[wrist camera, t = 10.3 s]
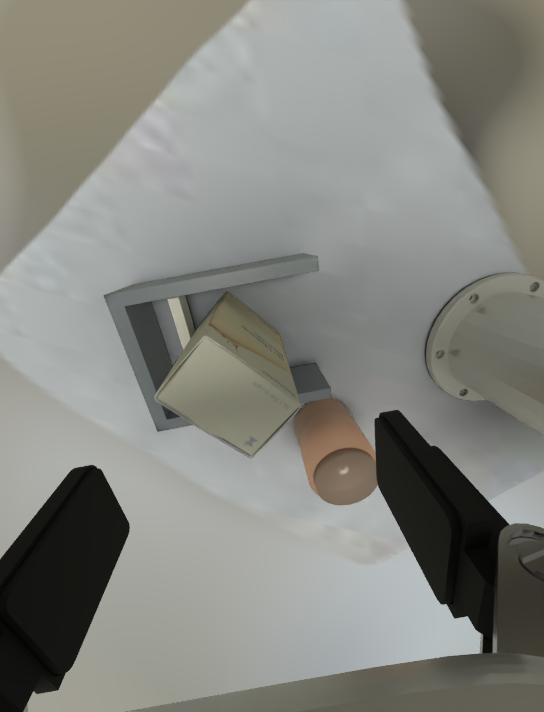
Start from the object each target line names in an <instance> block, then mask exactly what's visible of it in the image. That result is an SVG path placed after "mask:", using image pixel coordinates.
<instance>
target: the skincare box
mask: <svg viewBox="0 0 544 712" xmlns="http://www.w3.org/2000/svg"><path fill="white" fill-rule="evenodd" d="M154 399H155V401H156V402H158V403H160V404H161V405H163V406H164V407H166V408H168V409H169V410H171V411H172V412H174V413H175V414H177V415H179V416H180V417H182V418H184V419H185V420H187V421H189V422H190V423H192V424H193V425H195V426H196V427H198V428H199V429H201V430H203V431H204V432H206V433H208V434H209V435H211V436H213V437H215V438H217V439H218V440H220V441H222V442H223V443H225V444H227V445H228V446H230V447H232V448H233V449H235V450H237V451H238V452H240V453H242V454H244V455H245V456H247V457H249V458H253V457H254V456H255V455H256V454H257V453H258V452H259V451H260V450H261V449H262V448H263V447H264V446H265V445H266V444H267V443H268V442H269V441H270V440H271V439H272V438H273V437H274V436H275V435H276V434H277V433H278V432H279V431H280V430H281V429H282V428H283V427H284V426H285V425H286V424H287V423H288V422H289V421H290V419H291V418H292V417H293V416H294V415H295V414H296V413H297V412H298V411H299V410H300V409H301V403H300V400H299V397H298V394H297V390H296V387H295V384H294V380H293V377H292V374H291V370H290V367H289V364H288V360H287V357H286V354H285V351H284V347H283V344H282V340H281V337H280V334H279V333H278V332H276V331H275V330H274V329H273V328H272V327H270V326H269V325H268V324H267V323H266V322H265V321H263V320H262V319H261V318H260V317H259V316H257V315H256V314H255V313H254V312H253V311H251V310H250V309H249V308H248V307H246V306H245V305H244V304H243V303H241V302H240V301H239V300H238V299H236V298H235V297H234V296H233V295H231V294H230V293H229V292H226V293H225V294H224V295H223V296H222V297H221V299H220V300H219V301H218V302H217V303H216V305H215V306H214V307H213V308H212V310H211V311H210V312H209V313H208V315H207V316H206V317H205V318H204V320H203V321H202V322H201V324H200V325H199V326H198V328H197V329H196V331H195V332H194V334H193V336H192V337H191V339H190V341H189V342H188V344H187V345H186V347H185V348H184V350H183V352H182V353H181V355H180V356H179V358H178V359H177V361H176V363H175V364H174V366H173V367H172V369H171V370H170V372H169V374H168V375H167V377H166V378H165V380H164V381H163V383H162V384H161V386H160V388H159V389H158V391H157V392H156V394H155V396H154Z"/></svg>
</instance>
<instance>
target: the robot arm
mask: <svg viewBox="0 0 544 712" xmlns="http://www.w3.org/2000/svg"><path fill="white" fill-rule="evenodd" d="M426 360H427V367H428V370H429V373H430V376H431V377H432V379H433V380H434V382H435V383H436V384H437V385H438V386H439V387H440V388H441V389H442V390H444V391H445V392H447V393H448V394H450V395H451V396H453V397H456V398H458V399H461V400H468V401H483V400H489V401H490V402H492V403H493V404H495V405H496V406H498V407H499V408H501V409H503V410H504V411H506V412H507V413H509V414H510V415H512V416H513V417H515V418H517V419H518V420H520V421H521V422H523V423H524V424H526V425H527V426H529V427H531V428H532V429H534V430H535V431H537V432H538V433H540V434H541V435H543V436H544V281H543V280H542V279H539V278H537V277H534V276H532V275H526V274H519V273H502V274H497V275H492V276H489V277H486V278H484V279H481V280H479V281H477V282H475V283H473V284H472V285H470V286H468V287H467V288H465V289H464V290H463V291H461V292H460V293H459V294H458V295H456V296H455V297H454V298H453V299H452V300H451V301H450V302H449V303H448V305H447V306H446V307H445V308H444V309H443V311H442V312H441V314H440V315H439V317H438V318H437V319H436V321H435V324H434V326H433V328H432V330H431V332H430V335H429V339H428V342H427V350H426ZM375 448H376V477H377V483H378V486H379V489H380V491H381V493H382V495H383V496H384V498H385V500H386V502H387V504H388V506H389V508H390V510H391V512H392V514H393V516H394V518H395V519H396V521H397V523H398V525H399V527H400V529H401V531H402V533H403V535H404V537H405V539H406V541H407V543H408V544H409V546H410V548H411V550H412V552H413V553H414V556H415V558H416V560H417V562H418V564H419V565H420V567H421V569H422V571H423V573H424V575H425V577H426V579H427V581H428V583H429V585H430V586H431V589H432V590H433V592H434V594H435V596H436V598H437V600H438V601H439V602H440V603H441V604H447V606H448V607H449V609H450V611H451V613H452V615H453V617H454V618H460V617H465V616H468V617H469V619H470V621H471V622H472V624H473V626H474V628H475V629H476V630H477V631H478V632H480V633H481V642H480V654H470V655H459V656H447V657H440V658H434V659H427V660H420V661H414V662H407V663H400V664H395V665H387V666H380V667H374V668H368V669H363V670H357V671H352V672H345V673H340V674H334V675H329V676H322V677H317V678H311V679H305V680H299V681H294V682H288V683H282V684H277V685H271V686H265V687H259V688H255V689H249V690H243V691H237V692H232V693H226V694H221V695H215V696H209V697H205V698H198V699H193V700H187V701H182V702H176V703H171V704H165V705H160V706H155V707H149V708H143V709H138V710H132V711H127V712H544V529H543V528H541V527H538V526H534V525H529V524H512V525H509V524H508V523H507V521H506V520H505V519H504V518H503V517H502V516H501V515H500V514H499V513H498V512H497V511H496V509H495V508H494V507H492V505H491V504H490V503H489V502H488V501H487V500H486V499H485V497H484V496H483V495H482V494H481V493H480V492H479V491H478V490H477V489H476V488H475V487H474V485H473V484H472V483H471V482H470V481H469V480H468V479H467V478H466V477H465V476H464V475H463V474H462V472H461V471H460V470H459V469H458V468H457V467H456V466H455V465H454V464H453V463H452V462H451V460H450V459H449V458H448V457H447V456H446V455H445V454H444V453H443V452H442V451H441V450H440V449H439V448H438V447H436V446H430V445H429V444H428V443H427V442H426V441H425V439H424V438H423V437H422V436H421V435H420V434H419V433H418V431H417V430H416V429H415V428H414V427H413V426H412V425H411V424H410V422H409V421H408V420H407V419H406V418H405V417H404V416H403V414H402V413H401V412H400V411H399V410H394V411H388V412H383V413H380V415H379V418H376V419H375ZM129 528H130V527H129V522H128V520H127V518H126V516H125V514H124V513H123V511H122V509H121V507H120V505H119V503H118V501H117V499H116V497H115V495H114V493H113V491H112V489H111V487H110V485H109V484H108V482H107V480H106V478H105V476H104V474H103V472H102V470H101V469H97V467H96V466H94V465H89V466H84V467H78V468H74V469H73V470H71V471H70V472H69V474H68V475H67V476H66V477H65V479H64V480H63V481H62V483H61V484H60V485H59V486H58V487H57V489H56V490H55V491H54V492H53V494H52V495H51V496H50V497H49V499H48V500H47V501H46V503H45V504H44V505H43V506H42V508H41V509H40V510H39V511H38V513H37V514H36V515H35V516H34V518H33V519H32V520H31V521H30V523H29V524H28V525H27V526H26V528H25V529H24V530H23V531H22V533H21V534H20V535H19V537H18V538H17V539H16V540H15V541H14V543H13V544H12V545H11V546H10V548H9V549H8V550H7V551H6V553H5V554H4V555H3V557H2V558H1V559H0V712H28V708H27V703H28V701H29V698H30V696H31V694H32V692H33V691H34V692H35V693H37V694H39V693H45V692H51V691H56V690H59V687H60V685H61V683H62V680H63V678H64V676H65V673H66V672H68V671H69V670H70V669H71V667H72V666H73V664H74V662H75V660H76V657H77V655H78V653H79V650H80V648H81V645H82V643H83V641H84V639H85V636H86V634H87V631H88V629H89V627H90V624H91V622H92V619H93V617H94V615H95V613H96V610H97V608H98V605H99V603H100V601H101V598H102V596H103V594H104V591H105V589H106V586H107V584H108V582H109V579H110V577H111V575H112V572H113V570H114V568H115V565H116V563H117V561H118V558H119V556H120V553H121V551H122V549H123V546H124V544H125V541H126V539H127V537H128V534H129Z"/></svg>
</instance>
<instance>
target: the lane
mask: <svg viewBox="0 0 544 712" xmlns="http://www.w3.org/2000/svg"><path fill="white" fill-rule="evenodd" d="M313 271H319V264H318V256H313V255H308V254H298V255H292V256H287V257H281V258H276V259H270V260H265V261H259V262H254V263H248V264H243V265H238V266H232V267H227V268H221V269H216V270H210V271H205V272H199V273H194V274H188V275H183V276H177V277H172V278H166V279H161V280H155V281H150V282H144V283H139V284H133V285H130V286H127V287H125V288H122V289H119V290H117V291H114V292H111V293H109V294H106V295H104V298H105V300H106V303H107V305H108V308H109V310H110V313H111V315H112V318H113V320H114V323H115V325H116V328H117V331H118V333H119V336H120V338H121V341H122V343H123V346H124V348H125V351H126V353H127V356H128V358H129V361H130V363H131V366H132V368H133V371H134V373H135V376H136V378H137V381H138V383H139V386H140V389H141V391H142V394H143V396H144V399H145V401H146V404H147V406H148V409H149V411H150V414H151V416H152V419H153V421H154V424H155V426H156V429H157V431H158V432H159V431H164V430H169V429H174V428H179V427H184V426H189V425H193V424H192V423H190V422H189V421H187V420H185V419H184V418H182V417H180V416H179V415H177V414H175V413H174V412H172V411H171V410H169V409H168V408H166V407H164V406H163V405H161V404H160V403H158V402H156V401H155V399H154V396H155V394H156V392H157V391H158V389H159V388H160V386H161V384H162V383H163V381H164V380H165V378H166V377H167V375H168V374H169V372H170V370H171V369H172V367H173V366H172V363H171V360H170V357H169V354H168V351H167V348H166V345H165V342H164V339H163V336H162V333H161V330H160V327H159V324H158V321H157V318H156V315H155V312H154V309H153V306H152V303H151V301H156V300H161V299H167V298H172V297H178V296H183V295H189V294H194V293H199V292H205V291H210V290H216V289H221V288H227V287H232V286H237V285H243V284H248V283H254V282H259V281H264V280H270V279H275V278H281V277H286V276H292V275H297V274H302V273H308V272H313ZM290 370H291V374H292V377H293V380H294V384H295V387H296V390H297V394H298V397H299V400H300V403H301V404H302V403H307V402H312V401H317V400H322V399H327V398H332V397H331V388H330V386H329V384H328V383H327V381H326V379H325V378H324V376H323V374H322V373H321V371H320V369H319V368H318V366H317V364H316V363H312V364H307V365H302V366H296V367H291V368H290Z"/></svg>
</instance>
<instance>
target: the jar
mask: <svg viewBox="0 0 544 712" xmlns="http://www.w3.org/2000/svg"><path fill="white" fill-rule="evenodd" d="M294 429H295V433H296V436H297V440H298V444H299V447H300V451H301V455H302V458H303V462H304V465H305V469H306V473H307V476H308V480H309V484H310V486H311V488H312V490H313V491H314V492H315V493H316V494H317V495H319V496H320V497H321V498H322V499H323V500H324V501H326V502H328V503H331V504H334V505H349V504H353V503H356V502H359V501H361V500H363V499H365V498H366V497H367V496H369V495H370V494H371V493H372V492H373V491H374V490H375V488H376V487H377V485H378V483H377V477H376V453H375V451H374V450H373V448H372V446H371V445H370V443H369V442H368V440H367V439H366V437H365V435H364V434H363V432H362V431H361V429H360V427H359V426H358V424H357V423H356V421H355V419H354V418H353V416H352V415H351V413H350V412H349V410H348V408H347V407H346V406H345V405H344V404H343V403H342V402H340V401H338V400H336V399H332V398H327V399H322V400H317V401H312V402H309V403H307V404H306V405H304V406H303V407H302V408H301V409H300V411H299V412H298V413H297V415H296V418H295V421H294Z"/></svg>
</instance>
